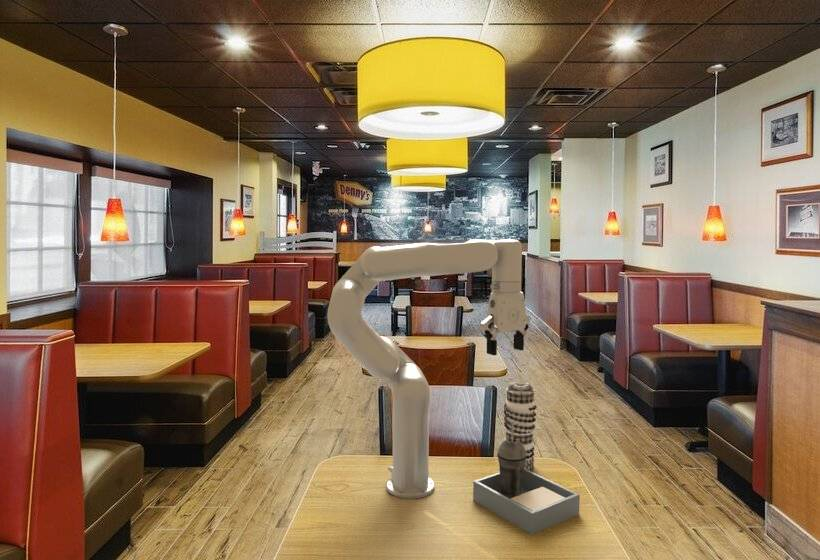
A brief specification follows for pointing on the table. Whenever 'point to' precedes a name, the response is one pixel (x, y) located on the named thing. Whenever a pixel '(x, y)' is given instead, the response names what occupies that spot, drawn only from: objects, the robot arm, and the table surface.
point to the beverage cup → (511, 466)
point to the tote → (529, 521)
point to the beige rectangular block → (537, 498)
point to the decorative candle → (521, 417)
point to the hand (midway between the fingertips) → (505, 351)
